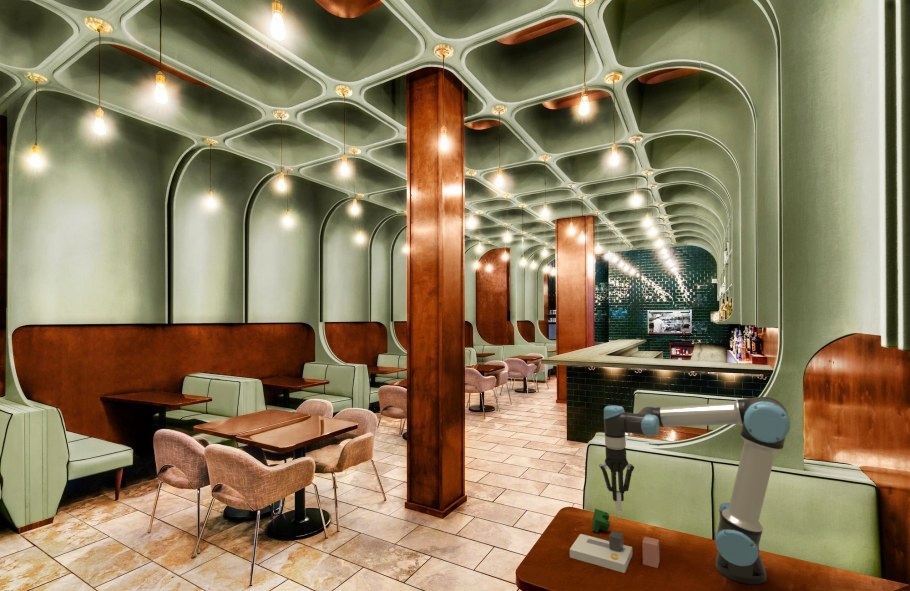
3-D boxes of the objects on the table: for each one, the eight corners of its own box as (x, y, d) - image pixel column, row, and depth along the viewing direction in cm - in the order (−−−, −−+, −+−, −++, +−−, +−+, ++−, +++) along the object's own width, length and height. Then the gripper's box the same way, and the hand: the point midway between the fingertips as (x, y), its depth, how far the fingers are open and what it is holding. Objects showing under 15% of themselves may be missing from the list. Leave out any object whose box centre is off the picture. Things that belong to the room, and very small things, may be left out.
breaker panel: (632, 555, 169) (632, 544, 170) (624, 573, 158) (624, 561, 158) (580, 541, 180) (580, 531, 180) (569, 557, 168) (569, 546, 168)
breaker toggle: (623, 545, 170) (622, 533, 170) (620, 551, 166) (620, 539, 166) (612, 543, 172) (612, 530, 172) (609, 548, 168) (609, 536, 168)
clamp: (605, 543, 187) (610, 528, 183) (590, 537, 189) (595, 522, 185) (606, 520, 197) (611, 506, 194) (592, 515, 199) (597, 501, 196)
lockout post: (659, 561, 165) (658, 539, 165) (657, 568, 160) (657, 545, 161) (645, 557, 167) (644, 536, 168) (642, 564, 163) (642, 542, 164)
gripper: (629, 444, 174) (633, 505, 172) (596, 444, 175) (599, 505, 173) (636, 449, 166) (639, 513, 165) (600, 449, 167) (603, 513, 166)
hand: (618, 509), depth 169 cm, fingers closed
